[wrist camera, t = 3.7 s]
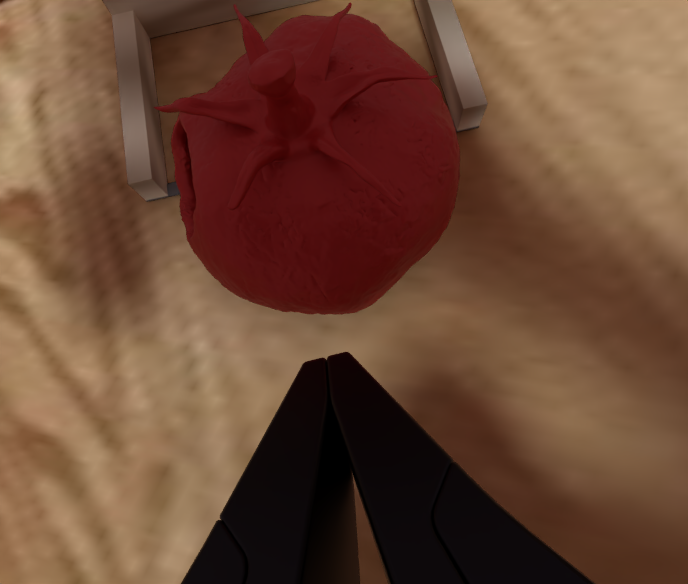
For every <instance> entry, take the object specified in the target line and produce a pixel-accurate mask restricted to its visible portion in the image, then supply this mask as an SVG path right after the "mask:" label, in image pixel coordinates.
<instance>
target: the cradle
mask: <svg viewBox="0 0 688 584" xmlns="http://www.w3.org/2000/svg"><path fill="white" fill-rule="evenodd" d="M102 1H103V3H104V4H105V6H106V7H107V9H108V10H109V12H110V13H111V15H112V22H113V33H114V43H115V54H116V64H117V75H118V85H119V96H120V106H121V117H122V127H123V138H124V148H125V159H126V169H127V180H128V185H129V186H130V187H132V188H133V189H134V190H135V191H136V192H137V193H138V194H139V195H140V196H141V197H142V198H144V199H145V200H146V201H147V202H148V201H152V200H157V199H161V198H166V197H170V196H175V195H179V194H180V192H179V189H178V187H177V183H176V182H172V183H168V184H167V176H166V167H165V159H164V151H163V143H162V134H161V126H160V118H159V110H157V109H155V108H154V107H158V101H157V93H156V85H155V77H154V68H153V60H152V52H151V44H150V38H153V37H158V36H162V35H166V34H171V33H175V32H180V31H184V30H189V29H193V28H197V27H202V26H206V25H211V24H215V23H220V22H224V21H228V20H233V19H237V18H238V16H237V14H236V12H235V10H234V7H233V5H234V4H235V5H237V8H238V10H239V12H240V13H241V14H242V15H243V16H244V17H246V16H251V15H255V14H259V13H264V12H268V11H273V10H277V9H282V8H286V7H290V6H295V5H299V4H304V3H308V2H313V1H317V0H102ZM414 2H415V5H416V8H417V11H418V15H419V18H420V21H421V24H422V27H423V30H424V33H425V36H426V39H427V42H428V46H429V49H430V52H431V55H432V58H433V61H434V64H435V67H436V70H437V74H438V77H439V80H440V83H441V86H442V89H443V92H444V95H445V98H446V101H447V105H448V108H449V111H450V114H451V117H452V120H453V123H454V127H455V130H456V132H460V131H465V130H469V129H474V128H478V127H479V125H480V122H481V120H482V117H483V115H484V112H485V109H486V107H487V104H488V103H487V100H486V97H485V94H484V91H483V89H482V86H481V83H480V80H479V77H478V74H477V71H476V69H475V66H474V63H473V60H472V57H471V54H470V51H469V49H468V46H467V43H466V40H465V37H464V34H463V31H462V29H461V26H460V23H459V20H458V17H457V14H456V11H455V9H454V6H453V3H452V0H414Z"/></svg>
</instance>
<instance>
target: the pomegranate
mask: <svg viewBox="0 0 688 584" xmlns="http://www.w3.org/2000/svg"><path fill="white" fill-rule="evenodd" d="M351 5H352V4H351V3H349V4H348V6H347V7H346V8H345V9H344V10H343V11H341V12H339V13H337V14H335V15H334V16H331V17H326V16H309V15H301V16H298V17H295V18H291V19H289V20H287V21H285V22H284V23H282V24H281V25H280V26H279V27H277V28H276V29H275V30H274V32H273V33H272V34H271V35H270V36H269V38H267V39H266V40H265V41H264V42H263V40H262V37H261V36H260V34H259V33H258V32H257V30H256V29H255V28H254V27H253V25H252V24H251V23H250V22H249V21H248V20H247V19H246V18H245V17H244V16H243V15H242V14H241V13H240V12H239V10H238V8H237V5H235V4H234V5H233V7H234V10H235V12H236V14H237V16H238V18H239V20H240V22H241V25H242V30H243V40H244V44H245V47H246V51H247V53H246V54H244V55H243V56H241V57H240V58H239V59H238V60H237V61H236V62H235V63H234V64H233V66H232V68H231V69H230V70H229V72H228V73H227V74H226V75H225V76H224V77H223V78H222V80H221V81H219V82H218V83H217V84H216V85H215V87H214V88H212V89H211V90H209V91H208V92H207V93H200V94H196V95H193V96H191V97H189V98H180V99H178V100H176V101H174V102H173V103H172V104H170V105H165V106H159V107H154V108H155V109H157V110H159V111H162V112H167V113H172V112H180V113H179V116H178V119H177V122H176V124H175V126H174V129H173V133H172V138H171V146H172V153H173V156H174V163H175V180H176V183H177V187H178V189H179V192H180V195H181V199H180V212H181V216H182V221H183V222H184V224H185V227H186V235H187V240H188V242H189V244H190V245H191V248H192V249H193V251H194V253H195V254H196V255H197V257H198V258H199V259H200V260H201V262H202V263H203V264H204V266H205V267H206V269H207V270H208V271H209V272H210V273H211V275H212V276H213V277H214V278H216V279H217V280H218V281H219V282H220V283H221V284H222V285H223V286H224V287H225V288H227V289H228V290H229V291H231V292H233V293H234V294H236V295H237V296H239V297H241V298H243V299H246V300H248V301H250V302H253V303H256V304H259V305H263V306H266V307H270V308H272V309H275V310H280V311H283V312H290V311H292V312H300V313H305V314H316V313H319V314H324V315H325V314H346V313H355V312H358V311H360V310H362V309H365V308H367V307H369V306H370V305H372V304H373V303H375V302H376V301H377V300H378V299H379V298H380V297H381V296H383V295H384V294H385V293H386V292H387V291H388V290H389V289H390V288H391V287H392V286H393V285H394V284H395V283H396V282H397V281H398V280H399V279H400V278H401V277H402V276H403V275H404V274H405V273H406V272H407V271H408V270H409V268H410V267H411V266H412V265H413V264H415V263H416V262H417V261H419V260H420V259H421V258H422V257H423V256H425V255H426V254H427V253H428V252H429V251H430V250H431V248H432V247H433V246H434V245H435V244H436V243H437V242H438V240H439V239H440V237H441V235H442V233H443V232H444V230H445V229H446V228H447V226H448V223H449V221H450V218H451V214H452V211H453V209H454V206H455V201H456V196H457V191H458V183H459V177H460V172H459V167H460V163H459V162H460V149H459V144H458V139H457V134H456V130H455V127H454V123H453V120H452V118H451V114H450V112H449V109H448V107H447V105H446V104H445V103H444V101H443V97H442V93H441V91H440V90H439V88H438V87H437V86H436V85H435V84H434V82H433V81H432V80H431V79H433V78H435V77H437V75H434V76H429V74H428V72H427V71H426V70H425V69H424V68H423V67H422V66H421V65H419V64H418V63H417V62H416V61H415V60H413V59H412V58H411V57H410V56H409V55H408V54H407V53H406V52H405V51H404V50H403V49H401V48H400V47H398V46H397V45H395V44H394V43H393V42H392V41H391V40H389V39H388V37H387V36H386V35H385V34H384V33H383V31H382V30H381V29H380V27H379V26H378V25H376V24H374V23H371V22H370V21H369V20H366V19H364V18H362V17H360V16H357V15H353V14H346V13H347V12H348V11H349V10H350V8H351Z"/></svg>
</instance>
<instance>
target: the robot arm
mask: <svg viewBox="0 0 688 584" xmlns="http://www.w3.org/2000/svg"><path fill="white" fill-rule="evenodd" d="M352 473H353V475H352ZM353 476H354V479H355V482H356V485H357V489H358V492H359V495H360V498H361V501H362V504H363V507H364V510H365V513H366V516H367V519H368V522H369V525H370V529H371V532H372V535H373V538H374V541H375V544H376V547H377V550H378V553H379V556H380V559H381V562H382V565H383V568H384V571H385V575H386V578H387V581H388V584H595V583H594V582H593V581H591V580H590V579H589V578H588V577H586V576H585V575H584V574H583V573H582V572H580V571H579V570H578V569H577V568H575V567H574V566H573V565H572V564H570V563H569V562H568V561H567V560H565V559H564V558H563V557H562V556H560V555H559V554H558V553H557V552H555V551H554V550H553V549H552V548H551V547H549V546H548V545H547V544H546V543H544V542H543V541H542V540H541V539H539V538H538V537H537V536H536V535H534V534H533V533H532V532H531V531H530V530H528V529H527V528H526V527H525V526H524V525H523V524H521V523H520V522H519V521H518V520H517V519H515V518H514V517H513V516H512V515H511V514H510V513H508V512H507V511H506V510H505V509H504V508H503V507H501V506H500V505H499V504H498V503H497V502H496V501H495V500H494V499H493V498H492V497H491V496H490V495H489V494H488V493H487V492H485V491H484V490H483V489H482V488H481V487H480V486H479V485H478V484H477V483H476V482H475V481H474V480H473V479H472V478H471V477H470V476H469V475H468V474H467V473H466V472H465V471H464V470H463V469H462V468H461V467H460V466H459V465H458V464H457V463H456V462H453V459H452V458H451V457H450V456H449V455H448V454H447V453H446V452H445V451H444V450H443V449H442V447H441V446H440V445H439V444H438V443H437V442H436V441H435V440H434V439H433V438H432V437H431V436H430V435H429V434H428V433H427V432H426V431H425V430H424V429H423V428H422V427H421V426H420V425H419V424H418V423H417V422H416V421H415V420H414V419H413V418H412V417H411V416H410V415H409V414H408V413H407V412H406V411H405V409H404V408H403V407H402V406H401V405H400V404H399V403H398V402H397V401H396V400H395V399H394V398H393V397H392V396H391V395H390V394H389V393H388V392H387V391H386V390H385V389H384V388H383V387H382V386H381V385H380V384H379V383H378V382H377V381H376V380H375V379H374V378H373V377H372V376H371V375H370V374H369V372H368V371H367V370H366V369H365V368H364V367H363V366H362V365H361V364H360V363H359V362H358V361H357V360H356V359H355V358H354V357H353V356H352V355H351V354H350V353H348V352H343V353H339V354H335V355H331V356H329V357H328V358H327V360H326V359H325V358H319V359H315V360H311V361H307V362H305V363H304V364H303V365H302V367H301V368H300V370H299V372H298V374H297V376H296V378H295V379H294V381H293V383H292V385H291V387H290V389H289V390H288V392H287V394H286V396H285V398H284V399H283V401H282V403H281V405H280V407H279V409H278V410H277V412H276V414H275V416H274V418H273V420H272V421H271V423H270V425H269V427H268V429H267V430H266V432H265V434H264V436H263V438H262V440H261V441H260V443H259V445H258V447H257V449H256V451H255V452H254V454H253V456H252V458H251V460H250V461H249V463H248V465H247V467H246V469H245V471H244V472H243V474H242V476H241V478H240V480H239V482H238V483H237V485H236V487H235V489H234V491H233V492H232V494H231V496H230V498H229V500H228V502H227V503H226V505H225V507H224V509H223V511H222V513H221V514H220V519H221V520H218V521H216V523H215V525H214V527H213V529H212V530H211V532H210V534H209V536H208V538H207V539H206V541H205V543H204V545H203V547H202V548H201V550H200V552H199V553H198V555H197V557H196V559H195V560H194V562H193V564H192V566H191V567H190V569H189V571H188V572H187V574H186V576H185V578H184V579H183V581H182V583H181V584H360V573H359V558H358V543H357V527H356V512H355V497H354V484H353Z"/></svg>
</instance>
